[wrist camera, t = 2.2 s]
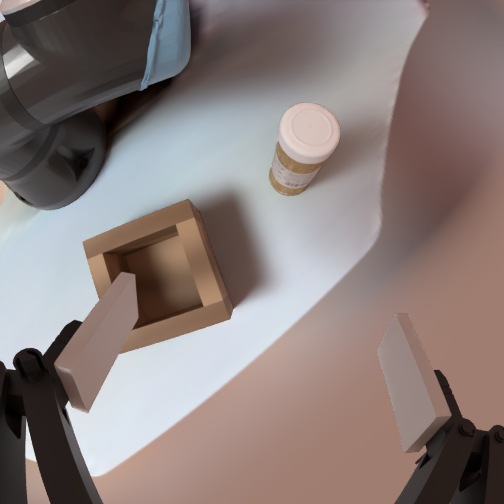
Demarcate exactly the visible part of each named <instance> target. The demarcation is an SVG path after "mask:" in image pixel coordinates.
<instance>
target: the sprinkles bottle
mask: <svg viewBox="0 0 504 504" xmlns="http://www.w3.org/2000/svg"><path fill="white" fill-rule="evenodd" d="M339 140H340V126H339V123H338V121H337V119H336V118H335V116H334V115H333V114H332V113H331V112H330V111H329V110H328V109H326V108H325V107H323V106H321V105H318V104H315V103H299V104H296V105H294V106H292V107H290V108H289V109H288V110H287V111H286V112H285V113H284V114H283V116H282V118H281V121H280V124H279V129H278V142H277V145H276V149H275V154H274V158H273V162H272V167H271V169H270V173H269V179H270V182H271V185H272V186H273V188H274V189H275V190H276V191H277V192H279V193H281V194H283V195H287V196H294V195H297V194H300V193H301V192H302V191H304V190H305V189H306V188H307V186H308V184H309V183H310V181H311V180H312V179H313V177H314V176H315V175H316V173H317V172H318V171H319V169H320V168H321V166H322V164H323V162H324V160H326V159H327V158H328V157H329V156H330V155H331V154H332V153H333V151H334V150H335V148H336V147H337V145H338V143H339Z"/></svg>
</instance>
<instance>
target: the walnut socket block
mask: <svg viewBox="0 0 504 504" xmlns="http://www.w3.org/2000/svg"><path fill="white" fill-rule="evenodd" d="M83 246H84V250H85V254H86V257H87V261H88V264H89V268H90V271H91V275H92V278H93V281H94V285H95V288H96V291H97V294H98V297H99V300H100V299H101V297H102V296H103V295H104V293H105V292H106V291H107V290H108V288H109V287H110V286H111V284H112V283H113V282H114V281H115V279H116V278H117V277H118V276H119V274H120V273H121V272H125V273H130V274H135V280H136V294H137V306H138V317H139V318H138V320H137V322H136V323H135V325H134V327H133V329H132V330H131V332H130V334H129V336H128V338H127V340H126V341H125V343H124V345H123V347H122V349H121V351H120V352H119V354H121V353H125V352H128V351H132V350H135V349H138V348H142V347H145V346H149V345H152V344H155V343H158V342H162V341H165V340H168V339H171V338H174V337H178V336H181V335H184V334H187V333H190V332H193V331H196V330H199V329H202V328H205V327H208V326H211V325H214V324H217V323H220V322H223V321H226V320H229V319H230V318H231V315H232V312H233V306H232V304H231V301H230V298H229V295H228V293H227V290H226V287H225V284H224V281H223V279H222V276H221V273H220V270H219V267H218V265H217V262H216V259H215V256H214V253H213V250H212V247H211V244H210V242H209V239H208V236H207V233H206V230H205V227H204V224H203V221H202V218H201V215H200V212H199V211H198V210H197V209H196V208H195V206H194V205H193V204H192V203H191V202H190V200H189V199H187V200H184V201H181V202H179V203H176V204H174V205H171V206H168V207H166V208H163V209H161V210H158V211H155V212H153V213H150V214H148V215H145V216H143V217H140V218H138V219H135V220H133V221H130V222H128V223H126V224H123V225H121V226H118V227H116V228H114V229H111V230H109V231H106V232H104V233H102V234H99V235H97V236H95V237H93V238H90V239H88V240H86V241H83Z"/></svg>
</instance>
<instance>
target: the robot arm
mask: <svg viewBox="0 0 504 504" xmlns="http://www.w3.org/2000/svg"><path fill="white" fill-rule="evenodd" d="M0 11H1V13H2V14H3V16H4V17H5V20H4V21H2V22H1V23H0V180H2V181H3V182H4V183H5V184H6V185H7V187H8V188H9V189H10V190H11V191H12V192H13V193H14V194H15V195H16V196H17V198H18V199H19V200H21V201H22V202H23V203H25V204H27V205H29V206H31V207H35V208H38V209H42V210H55V209H59V208H62V207H64V206H66V205H68V204H70V203H72V202H73V201H75V200H76V199H77V198H78V197H80V196H81V195H82V194H83V193H84V192H85V191H86V190H87V188H88V187H89V186H90V185H91V183H92V182H93V180H94V179H95V177H96V175H97V174H98V172H99V170H100V168H101V165H102V163H103V160H104V157H105V153H106V147H107V130H106V125H105V122H104V120H103V118H102V116H101V114H100V113H99V112H98V111H97V110H96V109H95V108H94V106H97V105H99V104H102V103H104V102H107V101H109V100H112V99H114V98H117V97H119V96H122V95H125V94H128V93H130V92H133V91H136V90H139V91H142V90H144V89H145V88H147V86H148V85H151V84H154V83H156V82H159V81H162V80H164V79H167V78H170V77H173V76H175V75H177V74H179V73H180V72H181V71H182V70H183V69H184V68H185V66H186V65H187V63H188V61H189V59H190V53H191V31H190V16H189V4H188V0H2V3H1V6H0ZM138 318H139V317H138V306H137V294H136V280H135V274H130V273H125V272H121V273H120V274H119V276H118V277H117V278H116V279H115V281H114V282H113V283H112V284H111V286H110V287H109V288H108V290H107V291H106V292H105V293H104V295H103V296H102V297H101V299H100V300H99V301H98V303H97V304H96V305H95V307H94V308H93V309H92V311H91V312H90V313H89V315H88V316H87V317H86V319H85V320H84V321H83V322H80V321H77V320H73V321H72V322H70V323H69V324H67V325H66V326H65V327H64V328H63V330H62V331H61V332H60V335H58V336H57V338H56V339H55V341H54V342H53V343H52V344H51V346H50V347H49V348H48V350H47V351H46V352H45V354H44V355H43V356H42V353H41V352H40V351H39V350H37V349H34V348H26V349H23V350H21V351H20V352H18V353H17V354H16V355H15V357H14V359H13V365H14V367H15V369H16V370H10V369H6V367H5V365H4V363H3V362H1V361H0V504H28V503H27V490H26V472H25V471H26V469H25V440H26V418H27V423H28V427H29V432H30V436H31V441H32V445H33V449H34V453H35V456H36V460H37V463H38V466H39V470H40V473H41V477H42V480H43V483H44V486H45V489H46V492H47V495H48V498H49V501H50V503H51V504H103V502H102V500H101V498H100V496H99V494H98V492H97V489H96V487H95V485H94V483H93V480H92V478H91V476H90V473H89V471H88V469H87V466H86V464H85V461H84V459H83V456H82V453H81V451H80V448H79V445H78V443H77V440H76V437H75V434H74V431H73V428H72V425H71V422H70V419H69V416H68V413H67V410H66V408H65V406H66V404H67V402H68V401H70V404H71V406H72V408H74V409H77V410H80V411H82V412H85V413H89V411H90V409H91V406H92V404H93V402H94V400H95V398H96V396H97V395H98V393H99V391H100V389H101V387H102V385H103V383H104V381H105V379H106V377H107V375H108V373H109V371H110V369H111V367H112V366H113V364H114V362H115V360H116V358H117V356H118V354H119V352H120V351H121V349H122V347H123V345H124V343H125V341H126V340H127V338H128V336H129V334H130V332H131V330H132V329H133V327H134V325H135V323H136V322H137V320H138ZM377 354H378V358H379V361H380V364H381V367H382V371H383V374H384V378H385V381H386V385H387V388H388V392H389V396H390V399H391V403H392V407H393V410H394V414H395V418H396V422H397V426H398V430H399V434H400V438H401V443H402V447H403V451H404V453H412V452H419V451H420V450H421V449H422V448H423V446H425V445H426V449H427V452H426V453H425V454H424V455H423V456H422V457H421V458H419V459H418V460H417V462H416V464H417V463H419V464H418V466H417V468H416V469H415V471H414V473H413V475H412V476H411V478H410V480H409V481H408V483H407V485H406V486H405V488H404V489H403V491H402V493H401V494H400V496H399V497H398V499H397V500H396V502H395V504H504V427H503V426H501V425H495V426H493V427H492V428H491V429H490V430H489V431H483V430H478V429H476V427H475V426H474V424H473V423H472V422H471V421H470V420H468V419H465V418H463V417H462V415H461V412H460V410H459V407H458V405H457V403H456V400H455V399H454V395H453V394H452V391H451V389H450V388H449V384H448V381H447V379H446V377H445V376H444V375H443V374H442V373H441V371H440V370H433V368H432V366H431V364H430V361H429V359H428V357H427V354H426V352H425V350H424V348H423V346H422V343H421V341H420V339H419V337H418V335H417V333H416V331H415V329H414V327H413V324H412V322H411V320H410V318H409V316H408V314H404V313H395V314H394V316H393V318H392V320H391V323H390V325H389V327H388V329H387V331H386V333H385V335H384V338H383V340H382V342H381V344H380V346H379V348H378V350H377Z"/></svg>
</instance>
